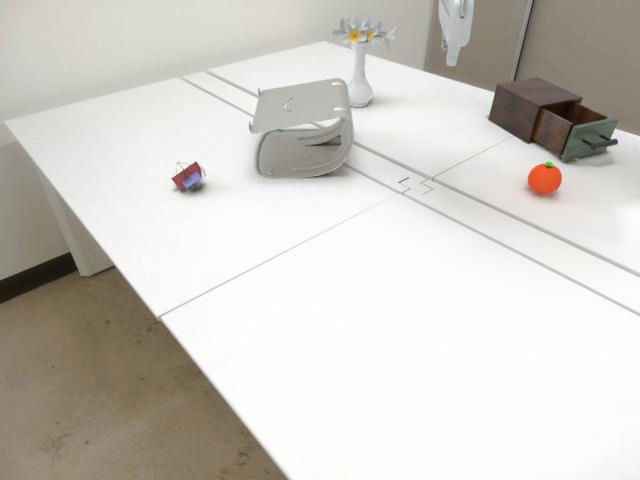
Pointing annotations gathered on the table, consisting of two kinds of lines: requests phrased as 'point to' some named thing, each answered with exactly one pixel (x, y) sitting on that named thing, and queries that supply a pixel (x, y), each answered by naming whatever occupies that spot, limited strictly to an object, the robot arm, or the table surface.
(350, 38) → the flower vase
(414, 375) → the table surface
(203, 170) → the geometric puzzle
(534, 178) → the clementine
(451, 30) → the robot arm
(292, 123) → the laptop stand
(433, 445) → the table surface
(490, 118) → the cabinet
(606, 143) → the drawer
